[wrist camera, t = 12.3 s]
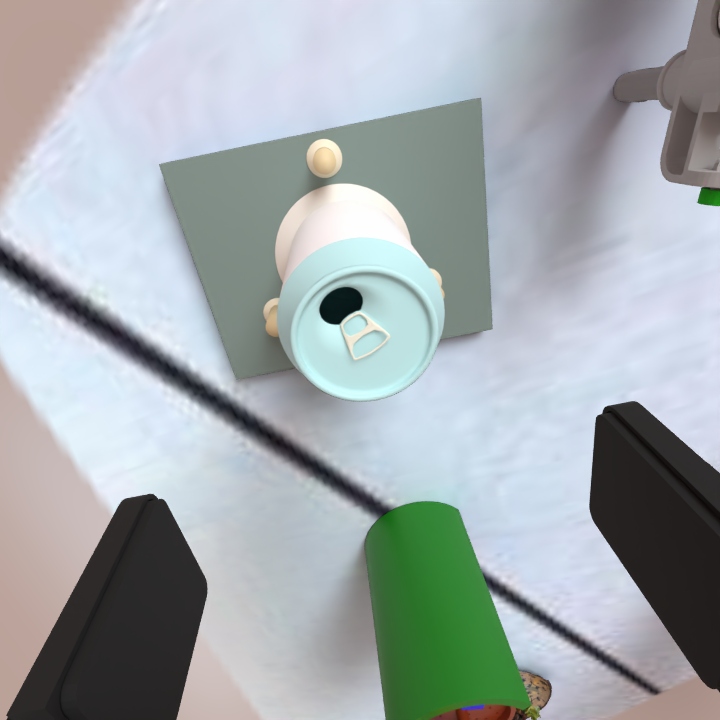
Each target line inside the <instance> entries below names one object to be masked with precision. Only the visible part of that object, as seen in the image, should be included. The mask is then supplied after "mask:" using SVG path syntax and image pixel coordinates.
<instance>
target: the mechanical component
mask: <svg viewBox="0 0 720 720" xmlns="http://www.w3.org/2000/svg"><path fill="white" fill-rule="evenodd" d="M614 96H615V99H617V100H619V101H622V102H626V101H628V102H644V101H647V100H659V102H660V103H661V105H662V106H663V107H664V108H666V109H668V110H671V111H672V112H671V116H670V120H669V124H668V129H667V133H666V137H665V141H664V145H663V149H662V154H661V162H660V165H661V171H662V174H663V176H664V178H665V179H666V180H668V181H669V182H673V183H679V184H685V185H691V186H699V187H702V188H701V191H700V195H699V199H698V202H697V203H699V204H704V205H712V206H720V0H698V4H697V8H696V12H695V16H694V20H693V25H692V29H691V33H690V37H689V41H688V45H687V49H686V50H683V51H681V52H679V53H677V54H676V55H675V56H673V57H672V58H671V59H670V60H669V61H668V62H667V63H666V65H665V66H662V67H657V68H648V69H642V70H637V71H634V72H628V73H626V74H623V75H622V76H620V77H619V78H618V80H617V81H616V83H615V86H614Z"/></svg>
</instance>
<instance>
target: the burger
mask: <svg viewBox="0 0 720 720" xmlns="http://www.w3.org/2000/svg"><path fill="white" fill-rule="evenodd" d="M519 673H520V675H521V678H522V681H523V683H524V686H525V689H526V691H527V694H528V697H529V699H530V702H531V706H529V707H528V708H526V709H524V710H522V709H519V708H516V712H515V715H514V717H513V719H512V720H526V719H527V718H529V717H531V720H536V719H537V717H540V715H539V711H540V710H541V709H542V708H544V707H545V706H546V704H547V702H548V701H549V699H550V697H551V693H552V690H551V689H552V687H551V683H550V682H549V680H545V679H543V678H541V677H540V676H538V675H533V674H531V673H528V672H521V671H519ZM540 718H541V717H540Z"/></svg>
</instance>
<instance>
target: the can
mask: <svg viewBox="0 0 720 720" xmlns="http://www.w3.org/2000/svg"><path fill="white" fill-rule="evenodd" d="M444 316H445V309H444V301H443V296H442V292H441V289H440V286H439V284H438V282H437V280H436V278H435V276H434V274H433V273H432V272H431V270H430V269H429V267H428V266H427V265H426V263H425V262H424V261H423V259H422V258H421V257H420V255H419V254H418V253H417V251H416V250H415V249H414V247H413V246H412V245H411V243H410V242H409V241H408V239H407V238H406V237H405V235H404V234H403V233H402V231H401V230H400V228H399V227H398V226H397V224H396V223H395V222H394V221H393V219H392V218H391V217H390V216H389V215H388V214H386V213H385V212H384V211H383V210H381V209H380V208H378V207H376V206H374V205H372V204H369V203H366V202H363V201H358V200H340V201H335V202H332V203H328V204H326V205H324V206H322V207H320V208H318V209H317V210H315V211H314V212H312V213H311V214H310V215H309V216H308V217H307V218H306V219H305V220H304V221H303V222H302V224H301V225H300V227H299V228H298V230H297V232H296V234H295V236H294V239H293V242H292V245H291V250H290V254H289V258H288V263H287V267H286V271H285V276H284V280H283V285H282V289H281V293H280V298H279V302H278V308H277V328H278V334H279V338H280V341H281V344H282V346H283V349H284V351H285V353H286V354H287V356H288V358H289V359H290V361H291V362H292V364H293V365H294V366H295V367H296V368H297V369H298V370H299V371H300V372H301V373H302V374H303V375H304V376H305V377H306V378H307V379H308V380H309V381H310V382H311V383H312V384H313V385H314V386H315V387H317V388H318V389H320V390H321V391H323V392H325V393H327V394H329V395H331V396H333V397H336V398H339V399H343V400H348V401H358V402H364V401H375V400H380V399H383V398H387V397H390V396H392V395H395V394H397V393H399V392H401V391H402V390H404V389H406V388H407V387H409V386H410V385H411V384H413V383H414V382H415V381H416V380H417V379H418V378H419V377H420V376H421V375H422V374H423V373H424V371H425V370H426V369H427V367H428V366H429V364H430V362H431V360H432V358H433V356H434V354H435V351H436V348H437V346H438V343H439V341H440V338H441V335H442V331H443V326H444Z"/></svg>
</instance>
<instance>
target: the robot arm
mask: <svg viewBox="0 0 720 720" xmlns="http://www.w3.org/2000/svg"><path fill="white" fill-rule="evenodd" d="M589 507H590V513H591V516H592V519H593V521H594V523H595V524H596V526H597V527H598V529H599V530H600V532H601V533H602V535H603V536H604V538H605V539H606V541H607V542H608V544H609V545H610V547H611V548H612V549H613V551H614V552H615V554H616V555H617V557H618V558H619V560H620V561H621V563H622V564H623V566H624V567H625V569H626V570H627V571H628V573H629V574H630V576H631V577H632V579H633V580H634V582H635V583H636V585H637V586H638V588H639V589H640V591H641V592H642V594H643V595H644V596H645V598H646V599H647V601H648V602H649V604H650V605H651V607H652V608H653V610H654V611H655V613H656V614H657V616H658V617H659V618H660V620H661V621H662V623H663V624H664V626H665V627H666V629H667V630H668V632H669V633H670V635H671V636H672V638H673V639H674V640H675V642H676V643H677V645H678V646H679V648H680V649H681V651H682V652H683V654H684V655H685V657H686V658H687V660H688V661H689V663H690V664H691V665H692V667H693V668H694V670H695V671H696V673H697V674H698V676H699V677H700V678H701V680H702V681H703V682H704V683H705V684H706V685H707V686H708V687H709V688H711V689H718V690H719V692H720V473H719V472H718V471H717V470H715V469H714V468H713V467H712V466H711V465H710V464H708V463H707V462H706V461H704V460H703V459H702V458H701V457H700V456H699V455H697V454H696V453H695V452H694V451H693V450H692V449H691V448H690V447H688V446H687V445H686V444H685V443H684V442H683V441H682V440H680V439H679V438H678V437H677V436H676V435H675V434H674V433H673V432H671V431H670V430H669V429H668V428H667V427H666V426H665V425H663V424H662V423H661V422H660V421H659V420H658V419H657V418H656V417H654V416H653V415H652V414H651V413H650V412H649V411H648V410H646V409H645V408H644V407H643V406H642V405H641V404H639V403H638V402H635V401H631V402H626V403H621V404H616V405H610V406H607V407H605V408H604V410H603V413H602V414H601V415H598V416H597V417H596V422H595V436H594V450H593V463H592V477H591V490H590V504H589ZM206 597H207V582H206V578H205V576H204V574H203V572H202V570H201V569H200V567H199V565H198V563H197V561H196V559H195V557H194V555H193V553H192V551H191V549H190V547H189V545H188V544H187V542H186V540H185V538H184V536H183V534H182V532H181V530H180V528H179V526H178V524H177V522H176V521H175V519H174V517H173V515H172V513H171V511H170V509H169V507H168V505H167V503H166V502H165V500H163V499H158V498H157V497H156V496H155V495H154V494H147V495H142V496H137V497H132V498H126V499H124V500H122V502H121V503H120V504H119V506H118V508H117V510H116V512H115V514H114V515H113V517H112V519H111V521H110V523H109V525H108V527H107V529H106V530H105V532H104V534H103V536H102V538H101V540H100V542H99V544H98V546H97V547H96V549H95V551H94V553H93V555H92V556H91V558H90V560H89V562H88V564H87V566H86V568H85V570H84V571H83V574H82V575H81V577H80V579H79V581H78V583H77V585H76V586H75V588H74V590H73V592H72V594H71V596H70V598H69V600H68V601H67V603H66V605H65V607H64V609H63V611H62V612H61V614H60V616H59V618H58V620H57V622H56V624H55V626H54V627H53V629H52V631H51V633H50V635H49V637H48V639H47V640H46V642H45V644H44V646H43V648H42V650H41V652H40V654H39V656H38V657H37V659H36V661H35V663H34V665H33V667H32V668H31V670H30V672H29V674H28V676H27V678H26V680H25V681H24V683H23V685H22V687H21V689H20V691H19V693H18V695H17V697H16V698H15V700H14V702H13V704H12V706H11V708H10V709H9V711H8V713H7V716H8V718H7V720H176V719H177V715H178V711H179V707H180V703H181V699H182V694H183V691H184V687H185V682H186V678H187V674H188V670H189V666H190V662H191V658H192V654H193V650H194V646H195V642H196V637H197V634H198V630H199V626H200V622H201V618H202V614H203V610H204V606H205V601H206Z"/></svg>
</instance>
